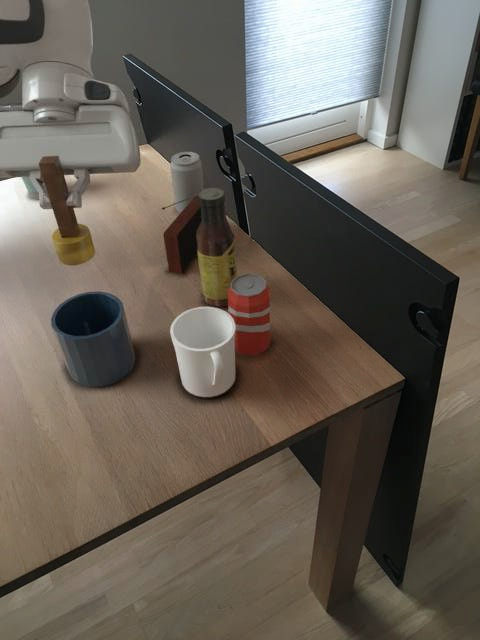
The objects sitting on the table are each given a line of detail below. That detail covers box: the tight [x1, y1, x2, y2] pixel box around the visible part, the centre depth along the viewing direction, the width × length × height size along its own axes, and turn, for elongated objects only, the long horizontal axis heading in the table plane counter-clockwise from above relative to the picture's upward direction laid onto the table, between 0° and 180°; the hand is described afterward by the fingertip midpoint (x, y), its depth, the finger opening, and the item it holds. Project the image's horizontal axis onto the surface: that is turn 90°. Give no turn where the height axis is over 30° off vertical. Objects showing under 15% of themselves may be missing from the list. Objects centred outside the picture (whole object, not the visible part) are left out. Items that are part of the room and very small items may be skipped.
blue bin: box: [50, 291, 136, 388], centre depth 80 cm, size 10×10×10 cm
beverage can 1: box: [169, 151, 205, 214], centre depth 112 cm, size 6×6×12 cm
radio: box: [161, 190, 202, 275], centre depth 99 cm, size 19×3×15 cm, turn 159°
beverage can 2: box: [227, 272, 271, 356], centre depth 81 cm, size 6×6×12 cm
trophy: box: [39, 156, 96, 266], centre depth 70 cm, size 5×5×14 cm
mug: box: [169, 306, 236, 400], centre depth 76 cm, size 11×9×10 cm
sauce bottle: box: [196, 187, 238, 308], centre depth 87 cm, size 7×6×20 cm
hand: (61, 207), depth 69 cm, fingers closed on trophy
